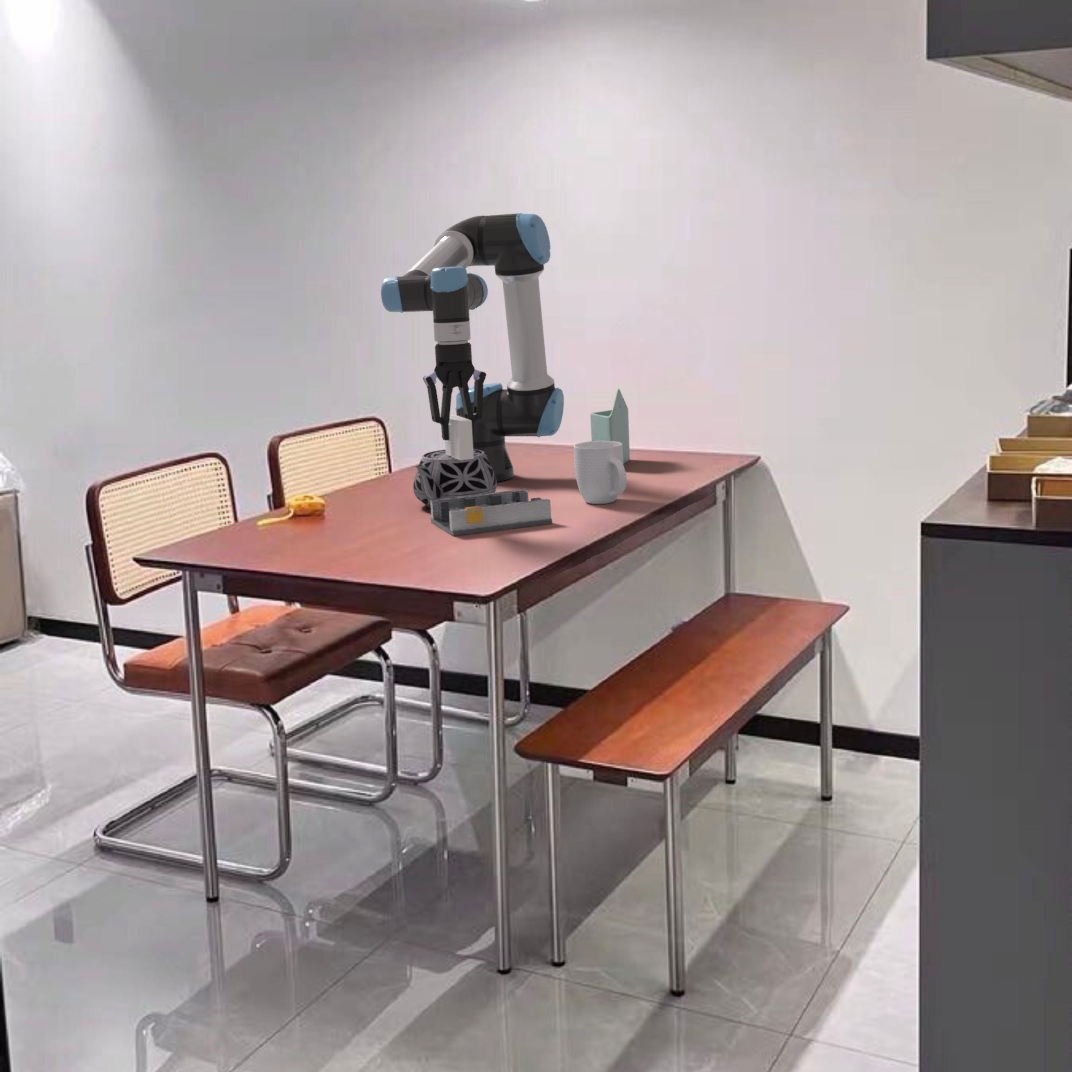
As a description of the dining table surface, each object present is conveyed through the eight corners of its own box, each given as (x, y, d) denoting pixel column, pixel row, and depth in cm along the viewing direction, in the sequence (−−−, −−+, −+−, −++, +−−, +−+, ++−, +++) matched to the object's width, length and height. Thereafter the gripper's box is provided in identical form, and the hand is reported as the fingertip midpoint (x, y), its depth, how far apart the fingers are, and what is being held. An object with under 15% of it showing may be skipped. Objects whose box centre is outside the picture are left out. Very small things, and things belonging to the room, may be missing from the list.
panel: (445, 453, 315) (443, 416, 313) (459, 452, 316) (457, 415, 314) (459, 460, 305) (457, 421, 304) (473, 458, 306) (471, 420, 305)
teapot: (382, 517, 328) (377, 450, 325) (451, 491, 354) (448, 429, 351) (456, 521, 319) (452, 453, 316) (521, 494, 346) (518, 431, 343)
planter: (601, 459, 388) (598, 384, 384) (630, 459, 385) (627, 384, 381) (583, 470, 373) (580, 393, 368) (613, 471, 370) (611, 392, 366)
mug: (644, 503, 328) (643, 445, 326) (605, 511, 323) (602, 452, 320) (605, 494, 341) (603, 438, 338) (566, 501, 335) (563, 444, 332)
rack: (431, 522, 320) (429, 498, 319) (526, 510, 327) (524, 487, 326) (453, 536, 305) (451, 511, 304) (552, 523, 312) (551, 499, 311)
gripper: (420, 346, 299) (427, 460, 304) (495, 340, 305) (501, 452, 310) (410, 344, 306) (417, 455, 311) (483, 338, 312) (489, 448, 317)
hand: (459, 454), depth 311 cm, fingers closed on panel, 3 cm apart
